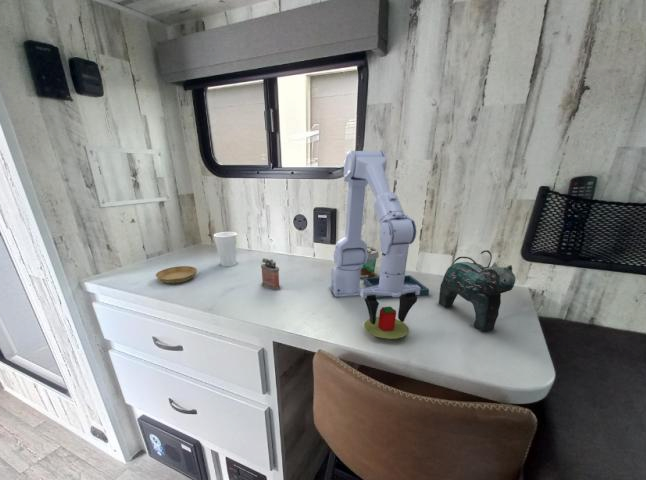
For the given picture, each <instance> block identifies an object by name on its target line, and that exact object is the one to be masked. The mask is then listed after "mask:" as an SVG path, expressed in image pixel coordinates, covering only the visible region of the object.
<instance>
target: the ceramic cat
mask: <svg viewBox="0 0 646 480" xmlns="http://www.w3.org/2000/svg"><path fill="white" fill-rule="evenodd" d="M484 253H488V255H489V256H490V259H489V263H488V264H487V266H483V265H481V264H480V263H477V262H476V260H475V259H473V258H471V257H469V256H458V257H456V258H455V259H454V261H452V263H451V265H450V266H449V267H448V268H447V269H446V271H445V273H444V275H443V278H442V281H441V283H440V287H439V294H438V295H439V297H438V305H439V306H441V307H442V308H444V309H449V308H452V307H453V305H454V303H455V301H456V298H457V296H460V297H461V298H462V299H464V300H465V301H467V302H470V303H471V304H472V306H473V310H474V313H475V318H474V323H473V327H474V328H475V329H478V330H479V331H480V332H482V333H484V332H490V331H494V329H495V325H496V322H497V319H498V317H499V314H500V313H499V312H500V308H501V304H502V299H501V296H502V295H501V294H503V293H507V292H511V291H512V290H513V288H514V287H515V284H516V276H515V274H514V272H513V265H512V264H510V265H508V266H506V267H503V266H498V264H497V262H494V263H493V264H492V265H491V263H492V258H493V255H492V253H491V251H490V250H488V249H486V250H485V249H484V250H483V251H481V252H480V255H482V254H484ZM460 259H468V260H470V261H471V262H470V261H461V262H460V261H459V260H460ZM457 261H459V262H457ZM490 265H491V266H490Z"/></svg>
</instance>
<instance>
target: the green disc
mask: <svg viewBox="0 0 646 480" xmlns="http://www.w3.org/2000/svg"><path fill="white" fill-rule="evenodd" d="M378 324H379V316H376V322H375V324H372V323H371V322H370V318H368V319H366V320H365V321H364V323H363V328H364V330H365V331H366V332H367V333H368V334H370V335H372V336H374V337H377V338H382V339H388V340H389V339H391V340H395V339H399V338H403V337H405V336H407V335H408V334H409V332H410V330H409V329H410V328H409V327H408V324H406V323H405V321H404V322H401V321H400V320H399V319H398V318H396V319H395V326H394V329H393V330H389V331H387V330H382V329H380V328H379V326H378Z"/></svg>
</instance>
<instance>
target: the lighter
mask: <svg viewBox="0 0 646 480" xmlns="http://www.w3.org/2000/svg"><path fill="white" fill-rule="evenodd" d="M261 263H262V264H261V265H260V268H261V278H262V281H261V285H262V286H263V287H265V288H267V289H270V290H273V291H279V290H280V289H281V285H280V273H279V272H280V267H278V266H276V265H277V262H276V261H274V260H273V259H272V258H271V259H268V258H265V257H263V258H262V262H261Z"/></svg>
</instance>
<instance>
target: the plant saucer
mask: <svg viewBox="0 0 646 480" xmlns="http://www.w3.org/2000/svg"><path fill="white" fill-rule="evenodd" d="M197 272H198V268H196V267H194V266H190V265H178V266H171V267H168V268H163V269H161V270H160V271H158V272H156V273H155V277H156V278H157V279H158V280H160V281H162V282H163V283H166V284H179V283H180V284H181V283H185V282H188V281H189V280H191V279H192V278H193V277H195V275H196V273H197Z"/></svg>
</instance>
